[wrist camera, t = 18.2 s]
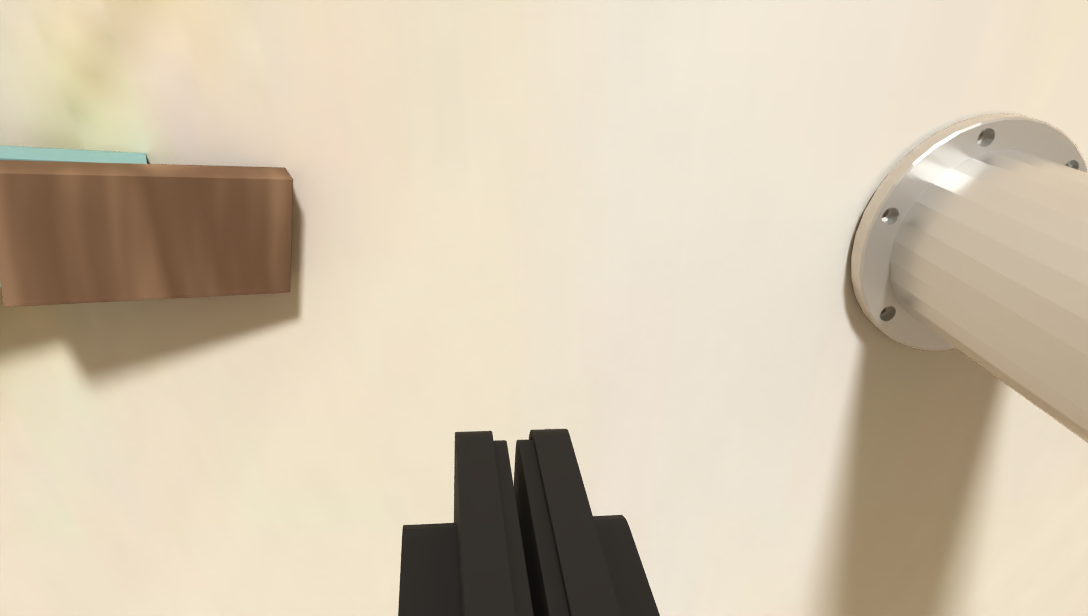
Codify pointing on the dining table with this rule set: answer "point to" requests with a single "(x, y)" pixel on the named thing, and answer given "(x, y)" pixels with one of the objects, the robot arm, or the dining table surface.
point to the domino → (141, 231)
